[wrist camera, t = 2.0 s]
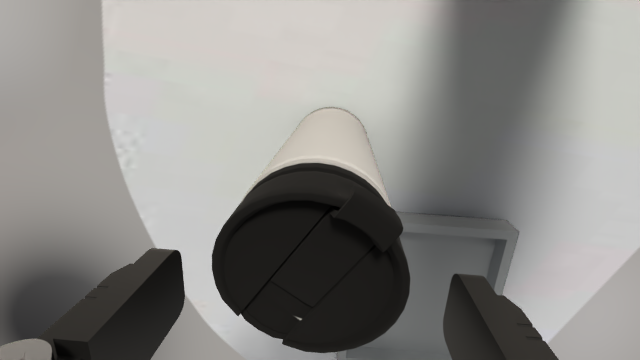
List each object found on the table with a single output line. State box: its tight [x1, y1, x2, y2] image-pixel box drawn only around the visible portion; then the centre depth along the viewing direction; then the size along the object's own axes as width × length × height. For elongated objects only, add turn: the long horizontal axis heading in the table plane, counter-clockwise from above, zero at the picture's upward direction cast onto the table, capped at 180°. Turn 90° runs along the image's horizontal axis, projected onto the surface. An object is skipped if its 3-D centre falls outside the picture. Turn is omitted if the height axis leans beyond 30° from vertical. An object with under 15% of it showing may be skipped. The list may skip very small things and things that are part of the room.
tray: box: [337, 212, 519, 360], centre depth 32 cm, size 16×14×2 cm
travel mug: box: [212, 107, 410, 353], centre depth 19 cm, size 6×7×20 cm
